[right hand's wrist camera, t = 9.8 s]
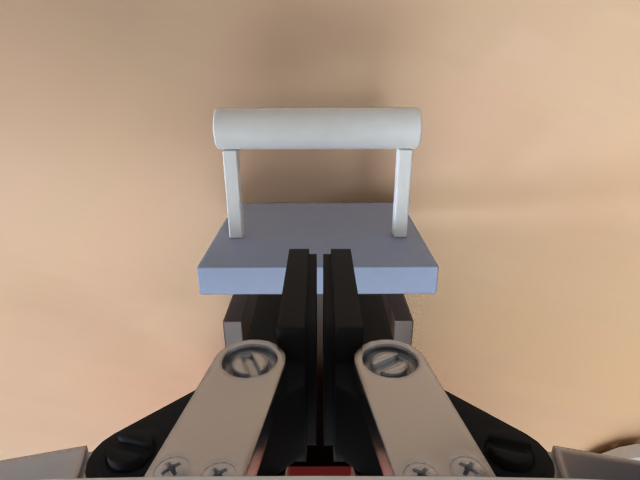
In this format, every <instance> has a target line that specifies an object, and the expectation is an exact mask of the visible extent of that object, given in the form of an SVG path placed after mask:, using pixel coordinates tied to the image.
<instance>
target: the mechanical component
mask: <svg viewBox="0 0 640 480" xmlns="http://www.w3.org/2000/svg"><path fill="white" fill-rule="evenodd" d="M602 454H604V455H610V456H616V457H621V458H627V459H633V460H638V461H640V444H633V445H628V446H622V447H618V448H615V449H612V450H610V451H607V452H604V453H602Z"/></svg>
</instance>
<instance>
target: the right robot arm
mask: <svg viewBox="0 0 640 480" xmlns="http://www.w3.org/2000/svg"><path fill="white" fill-rule="evenodd" d="M316 406H317V254H309V249H289V254H288V260H287V266H286V272H285V278H284V284H283V290H282V294H259V296H258V299H257V303H256V307H255V311H254V314H253V318H252V322H251V326H250V330H249V333H248V337H247V340H245V341H240V342H237V343H234V344H231V345H229V346H227V347H226V348H224V349H223V350H221V351H220V353H219V354H218V355H217V356H216V357H215V359H214V361H213V362H212V364H211V366H210V367H209V369H208V371H207V372H206V374H205V376H204V377H203V379H202V381H201V382H200V384H199V386H198V387H197V389H196V390H195V391H193V392H191V393H189V394H187V395H186V396H184V397H182V398H180V399H178V400H176V401H174V402H173V403H171V404H169V405H167V406H165V407H163V408H161V409H160V410H158V411H156V412H154V413H152V414H150V415H148V416H147V417H145V418H143V419H141V420H139V421H137V422H135V423H134V424H132V425H130V426H128V427H126V428H124V429H122V430H121V431H119V432H117V433H115V434H113V435H112V436H110V437H109V438H107V439H106V440H104V441H103V442H102V443H101V444H100V445H99V446H98V447H97V448H96V449H95V450H94V451H93V452H89V453H88V449H87V446H81V447H76V448H70V449H64V450H59V451H53V452H47V453H41V454H36V455H30V456H24V457H19V458H13V459H7V460H2V461H0V480H640V461H638V460H633V459H627V458H621V457H616V456H610V455H604V454H599V453H593V452H587V451H581V450H576V449H570V448H564V447H559V446H553V449H552V453H551V452H547V451H546V450H545V449H544V448H543V447H542V446H541V445H540V444H539V443H538V442H537V441H536V440H534V439H533V438H531V437H530V436H528V435H527V434H525V433H523V432H521V431H519V430H518V429H516V428H514V427H512V426H510V425H508V424H506V423H505V422H503V421H501V420H499V419H497V418H495V417H493V416H492V415H490V414H488V413H486V412H484V411H482V410H480V409H479V408H477V407H475V406H473V405H471V404H469V403H467V402H466V401H464V400H462V399H460V398H458V397H456V396H454V395H453V394H451V393H449V392H447V391H445V390H444V389H443V387H442V386H441V384H440V382H439V381H438V379H437V377H436V376H435V374H434V372H433V371H432V369H431V367H430V366H429V364H428V362H427V361H426V359H425V357H424V356H423V355H422V354H421V353H420V351H419V350H417V349H416V348H414V347H413V346H411V345H409V344H406V343H403V342H400V341H395V340H393V337H392V333H391V330H390V326H389V322H388V318H387V314H386V311H385V307H384V303H383V299H382V296H381V294H358V290H357V284H356V278H355V272H354V266H353V260H352V254H351V249H331V254H323V407H324V445H333V455H334V462H346V463H348V464H349V465H350V466H351V476H289V466H290V465H291V464H292V463H294V462H306V455H307V445H316Z"/></svg>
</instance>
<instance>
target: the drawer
mask: <svg viewBox="0 0 640 480" xmlns="http://www.w3.org/2000/svg"><path fill="white" fill-rule="evenodd" d="M421 133H422V116H421V111H420V109H419V108H418V107H381V108H217V109H215V111H214V115H213V135H214V141H215V144H216V147H217V148H218V149H220V150H223V164H224V176H225V188H226V200H227V212H228V217H227V219H226V220H225V222H224V224H223V225H222V227H221V229H220V230H219V232H218V234H217V235H216V237H215V239H214V240H213V242H212V244H211V245H210V247H209V249H208V250H207V252H206V254H205V255H204V257H203V259H202V260H201V262H200V264H199V265H198V267H197V272H198V281H199V290H200V294H233V296H232V299H231V302H230V304H229V307H228V310H227V312H226V315H225V318H224V320H223V328H224V338H225V348H226V347H227V346H229V345H231V344H234V343H237V342H240V341H245V340H247V337H248V333H249V330H250V326H251V322H252V318H253V314H254V311H255V307H256V303H257V299H258V296H259V294H282V290H283V284H284V278H285V272H286V266H287V260H288V254H289V249H309V254H317V406H316V445H307V455H306V462H294V463H292V464H291V465H290V466H350V465H349V464H348V463H346V462H334V455H333V445H324V407H323V254H331V249H351V254H352V260H353V266H354V272H355V278H356V284H357V290H358V294H381V296H382V299H383V303H384V307H385V311H386V314H387V318H388V322H389V326H390V330H391V333H392V337H393V340H395V341H400V342H403V343H406V344H409V345H412V333H413V318H412V316H411V313H410V310H409V307H408V305H407V302H406V299H405V296H404V294H435V293H436V288H437V279H438V269H439V267H438V265H437V263H436V262H435V260H434V258H433V256H432V255H431V253H430V251H429V249H428V248H427V246H426V244H425V243H424V241H423V239H422V237H421V236H420V234H419V232H418V231H417V229H416V227H415V225H414V224H413V222H412V220H411V219H410V217H409V215H408V209H409V195H410V181H411V167H412V153H413V151H412V149H416V148H418V146H419V143H420V140H421ZM239 149H397V152H396V169H395V187H394V203H242V190H241V176H240V161H239Z"/></svg>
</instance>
